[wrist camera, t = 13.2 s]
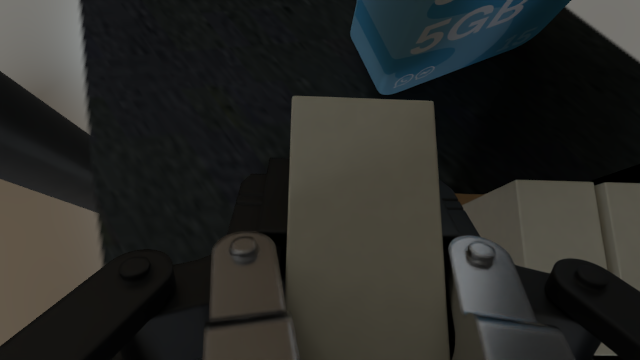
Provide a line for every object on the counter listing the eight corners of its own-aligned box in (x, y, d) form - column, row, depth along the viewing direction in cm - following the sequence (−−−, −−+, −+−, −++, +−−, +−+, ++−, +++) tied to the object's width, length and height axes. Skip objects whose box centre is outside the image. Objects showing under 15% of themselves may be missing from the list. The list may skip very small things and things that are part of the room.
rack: (242, 352, 21) (183, 429, 10) (252, 189, 24) (212, 106, 12) (573, 354, 22) (852, 427, 11) (552, 198, 25) (767, 128, 13)
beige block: (290, 343, 15) (280, 419, 7) (295, 192, 17) (291, 94, 8) (367, 343, 16) (455, 419, 7) (364, 193, 17) (434, 99, 8)
